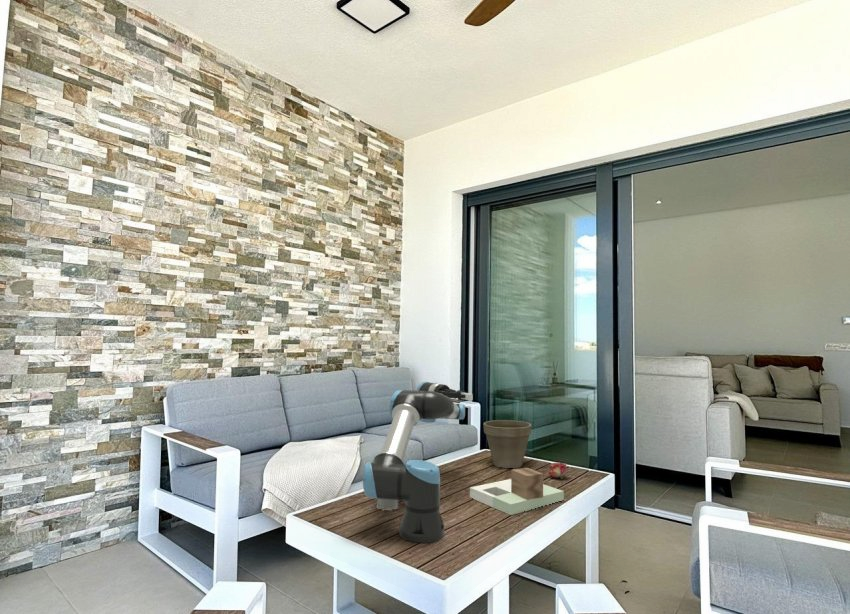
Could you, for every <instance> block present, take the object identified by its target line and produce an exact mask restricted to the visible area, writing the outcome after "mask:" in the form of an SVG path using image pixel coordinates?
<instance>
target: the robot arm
mask: <svg viewBox="0 0 850 614" xmlns="http://www.w3.org/2000/svg"><path fill="white" fill-rule="evenodd" d="M416 387H417V388H416V390H412V389H411V390H410V389H399V390H396V391H395V392H393V394H392V396H391V399H390V403H389V413H390V414H389V415H390V416H391V417H392V422H391V424H390V427H389V430H388V432H387V435H386V438H385V440H384V442H383V445H382V449H381V452H380V453H378V454H376V456H374V459H373V461H368V462H366V463H365V464H364V467H363V471H362V487H363V493H364V495H365V496H366V497H367V498H370V499H375V500H378V499H386V500H398V502H400V501H401V502H404V504H405V505H404V507H405V508H404V512H403V515H402V518H401V522H400V523H399V524H400V525H399V536H400V537H401V538H402V537H403V538H402V539H404V540H405V539H406V541H408V540H409V541H408V542H412V541H413V542H412V543H422V544H423V543H426V542H427V543H434V542H437V541H439V540H441V539H443V538H444V536H445V525H444V521H443V517H442V514H441V511H440V504H441V503H440V500H441V499H440V498H441V497H440V496H441V495H440V494H441V491H440V489H441V474H440V473H441V471H440V468H439V466H438V465H436V464H435V463H432V462H430V461H427V460H421V459H410V460H407V461H406V463H405V462H404V457H405V455H406V452H407V448H408V445H409V442H410V438H411V435H412V432H413V429H414V426H415V427H416V425H418V423H419V421H421V422H423V423H435V422H436V420H439V419H440V420H443V419H445V420H448V419H449V420H464V419H465V416H466V406H465V404H463V403H455V402H454V401H453V399H455V400H456V399H457V401H461V400H465V401H473V400H474V399H473V395H474V394H473V393H468V392H466V391H465V390H459V389H458V390H456V389H453V388H450V387H449V386H448V384H444V383H443V384H442V383H441V384H440V383H438V382H437V381H435V382H429V381H422V382H420V383H418V385H417V386H416ZM427 543H426V544H427Z"/></svg>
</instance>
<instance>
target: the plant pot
mask: <svg viewBox="0 0 850 614" xmlns="http://www.w3.org/2000/svg"><path fill="white" fill-rule="evenodd" d="M483 432H484V434H485V435H486V440H487V443H488V448H489V452H490V455H491V459H492V463H493V465H494V467H497V468H500V467H502V468H501V469H507V468H513V469H520V468H521V467H523V463H524V459H525V455H526V451H527V446H528V443H529V439H530V435H531V434H532V424H531V423H530V422H526V421H521V420H511V419H510V420H509V419H508V420H507V419H503V420H501V419H498V420H495V419H494V420H488V421H485V422H483Z"/></svg>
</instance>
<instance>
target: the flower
mask: <svg viewBox="0 0 850 614" xmlns="http://www.w3.org/2000/svg"><path fill="white" fill-rule="evenodd" d="M549 469H550V470H548V471H547V472H548V475H550V476H551V477H552V476H553V477H552V478H555V477H556V478H557V477H558V478H560V480H561V479H563V477H565V476H567V475H568V473H567V463H562V462H561V461H559V462H554V463H553V464H550V465H549Z"/></svg>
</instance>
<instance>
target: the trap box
mask: <svg viewBox="0 0 850 614" xmlns="http://www.w3.org/2000/svg"><path fill="white" fill-rule="evenodd" d="M564 497H565V491H564V490H562V489H559V488H556V487H552V486H550V485H547V484H544V483H543V497H541V498H535V499H529V500H526V499H524V498H522V497H520V496H518V495H516V494H514V493H512V492H511V478H509V479H504V480H500V481H495V482H490V483H485V484H481V485H474V486H471V487H469V498H470V499H472V498H473V500H475V501H478V502H479V503H482V504H485V505H487V506H488V507H491V508H493V509H496V510H498V511H500V512H503V513H505V514H507V515H509V516H512V515H513V516H514V515H517V514H520V513H524V511H525V512H527V511H531V509H532V510H536V509H539V508H538V507H540V508H542V507H541V506H543V507H546V506H545V505H547V506H550V505H549V504H551V505H553V504H552V503H555V502H558V501H562V500H564V501H565V499H564ZM562 502H563V501H562ZM558 503H559V502H558ZM555 504H556V503H555ZM535 508H536V509H535Z"/></svg>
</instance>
